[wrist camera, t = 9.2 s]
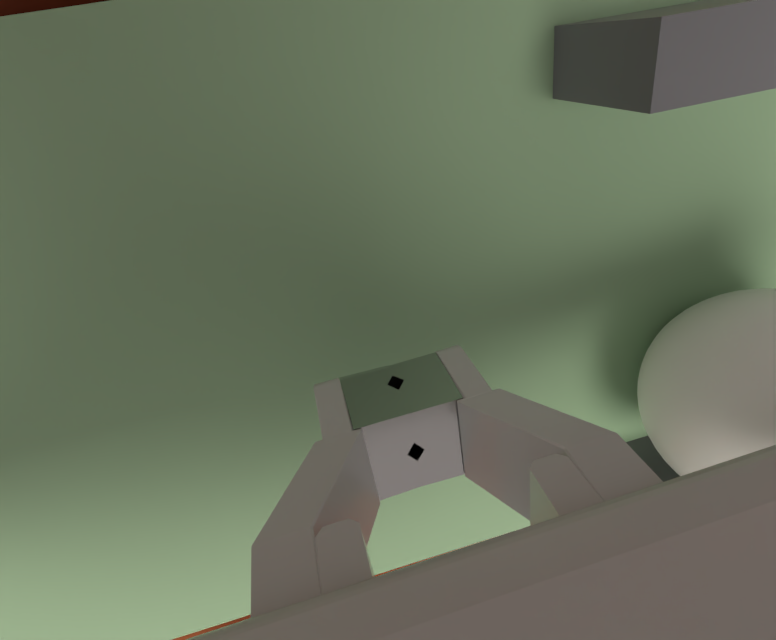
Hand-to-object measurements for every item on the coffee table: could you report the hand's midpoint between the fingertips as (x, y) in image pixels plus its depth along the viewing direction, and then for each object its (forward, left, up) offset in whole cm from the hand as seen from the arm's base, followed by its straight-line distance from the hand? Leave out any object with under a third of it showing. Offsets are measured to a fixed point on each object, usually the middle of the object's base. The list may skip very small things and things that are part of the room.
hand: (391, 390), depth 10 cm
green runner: (0, 0, -2) cm, 2 cm away
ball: (+2, +8, +1) cm, 8 cm away
